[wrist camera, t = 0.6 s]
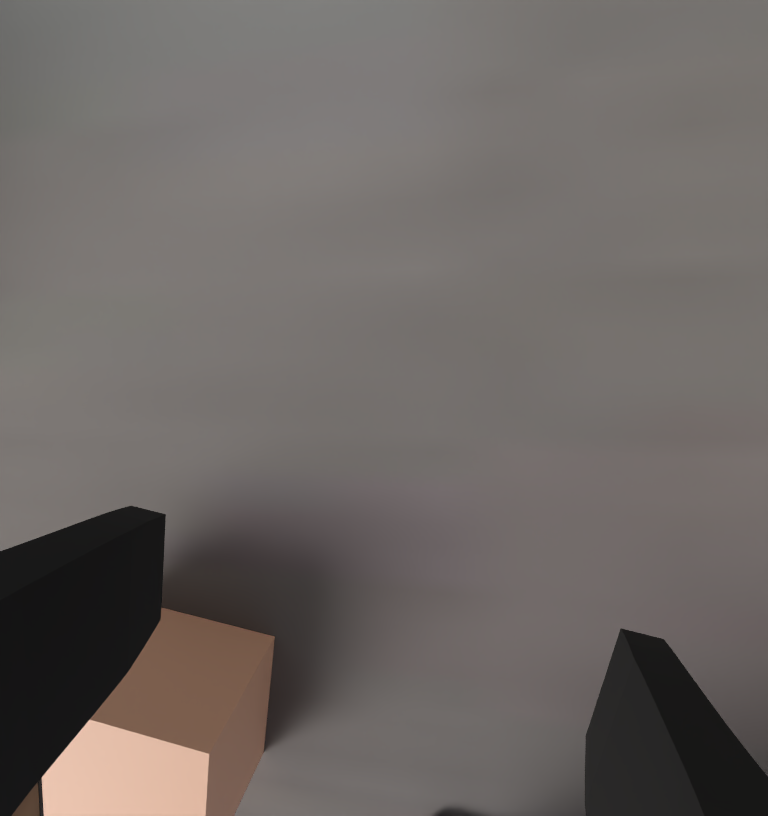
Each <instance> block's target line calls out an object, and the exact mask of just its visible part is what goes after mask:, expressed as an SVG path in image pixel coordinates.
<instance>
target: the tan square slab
mask: <svg viewBox="0 0 768 816" xmlns="http://www.w3.org/2000/svg"><path fill="white" fill-rule="evenodd" d="M12 816H40V812H39V794H38V783H37V784H36V785H35V786H34V787H33V789H32V790H31V791H30V792H29V794H28V795H27V796H26V797H25V799H24V800H23V801H22V803H21V804H20V805H19V807H18V808H17V809H16V811H15V812H14V813H13V814H12Z"/></svg>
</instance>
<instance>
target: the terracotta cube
mask: <svg viewBox="0 0 768 816" xmlns="http://www.w3.org/2000/svg"><path fill="white" fill-rule="evenodd" d="M274 640H275V636H271V635H267V634H263V633H259V632H255V631H251V630H247V629H243V628H240V627H236V626H232V625H228V624H224V623H220V622H216V621H212V620H208V619H205V618H201V617H197V616H193V615H189V614H185V613H181V612H177V611H173V610H169V609H166V608H162V607H161V620H160V622H159V623H158V625H157V627H156V628H155V630H154V632H153V633H152V635H151V637H150V638H149V640H148V642H147V643H146V645H145V647H144V648H143V650H142V651H141V653H140V654H139V656H138V658H137V659H136V661H135V662H134V664H133V665H132V667H131V668H130V670H129V671H128V673H127V674H126V675H125V677H124V678H123V679H122V680H121V682H120V683H119V684H118V686H117V687H116V688H115V689H114V690H113V692H112V693H111V694H110V695H109V697H108V698H107V699H106V700H105V701H104V703H103V704H102V705H101V706H100V708H99V709H98V710H97V711H96V713H95V714H94V715H93V716H92V717H91V719H90V720H89V721H88V722H87V723H86V725H85V726H84V727H83V728H82V729H81V731H80V732H79V733H78V734H77V735H76V737H75V738H74V739H73V740H72V741H71V743H70V744H69V745H68V746H67V748H66V749H65V750H64V751H63V752H62V754H61V755H60V756H59V757H58V758H57V760H56V761H55V762H54V763H53V764H52V766H51V767H50V768H49V769H48V770H47V772H46V773H45V774H44V775H43V776H42V791H43V810H44V816H234V814H235V812H236V810H237V808H238V806H239V804H240V802H241V799H242V797H243V795H244V793H245V791H246V789H247V787H248V784H249V782H250V780H251V778H252V776H253V774H254V772H255V770H256V767H257V765H258V763H259V761H260V759H261V757H262V755H263V753H264V744H265V733H266V723H267V713H268V702H269V692H270V682H271V671H272V661H273V650H274Z"/></svg>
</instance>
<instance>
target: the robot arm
mask: <svg viewBox="0 0 768 816" xmlns="http://www.w3.org/2000/svg"><path fill="white" fill-rule="evenodd" d="M165 516H166V514H162V513H158V512H154V511H150V510H146V509H142V508H138V507H134V506H129V507H125V508H121V509H118V510H115V511H111V512H108V513H105V514H102V515H100V516H97V517H94V518H91V519H88V520H86V521H83V522H80V523H77V524H75V525H72V526H69V527H67V528H64V529H61V530H58V531H56V532H53V533H50V534H47V535H45V536H42V537H39V538H36V539H34V540H31V541H28V542H25V543H23V544H20V545H17V546H14V547H12V548H9V549H6V550H3V551H0V816H12V814H13V813H14V812H15V811H16V809H17V808H18V807H19V805H20V804H21V803H22V801H23V800H24V799H25V797H26V796H27V795H28V794H29V792H30V791H31V790H32V789H33V787H34V786H35V785H36V784H37V783H38V781H39V780H40V779H41V778H42V776H43V775H44V774H45V773H46V772H47V770H48V769H49V768H50V767H51V766H52V764H53V763H54V762H55V761H56V760H57V758H58V757H59V756H60V755H61V754H62V752H63V751H64V750H65V749H66V748H67V746H68V745H69V744H70V743H71V741H72V740H73V739H74V738H75V737H76V735H77V734H78V733H79V732H80V731H81V729H82V728H83V727H84V726H85V725H86V723H87V722H88V721H89V720H90V719H91V717H92V716H93V715H94V714H95V713H96V711H97V710H98V709H99V708H100V706H101V705H102V704H103V703H104V701H105V700H106V699H107V698H108V697H109V695H110V694H111V693H112V692H113V690H114V689H115V688H116V687H117V686H118V684H119V683H120V682H121V680H122V679H123V678H124V677H125V675H126V674H127V673H128V671H129V670H130V668H131V667H132V665H133V664H134V662H135V661H136V659H137V658H138V656H139V654H140V653H141V651H142V650H143V648H144V647H145V645H146V643H147V642H148V640H149V638H150V637H151V635H152V633H153V632H154V630H155V628H156V627H157V625H158V623H159V622H160V620H161V603H162V582H163V560H164V538H165ZM585 809H586V816H768V777H767V775H766V774H765V773H764V772H763V770H762V769H761V768H760V767H759V765H758V764H757V763H756V762H755V761H754V759H753V758H752V757H751V756H750V754H749V753H748V752H747V750H746V749H745V748H744V747H743V745H742V744H741V743H740V741H739V740H738V739H737V738H736V736H735V735H734V734H733V732H732V731H731V730H730V728H729V727H728V726H727V724H726V723H725V722H724V720H723V719H722V718H721V716H720V715H719V714H718V712H717V711H716V710H715V708H714V707H713V706H712V704H711V703H710V702H709V700H708V699H707V697H706V696H705V695H704V693H703V692H702V691H701V689H700V688H699V687H698V685H697V684H696V682H695V681H694V680H693V678H692V677H691V675H690V674H689V673H688V671H687V670H686V669H685V667H684V666H683V664H682V663H681V662H680V660H679V659H678V657H677V656H676V655H675V653H674V652H673V651H672V649H671V648H670V647H669V645H668V644H667V643H666V642H665V640H664V639H661V638H657V637H653V636H649V635H645V634H641V633H637V632H633V631H629V630H625V629H620V633H619V636H618V639H617V642H616V645H615V648H614V651H613V654H612V657H611V660H610V663H609V666H608V669H607V673H606V676H605V679H604V682H603V685H602V688H601V691H600V694H599V697H598V700H597V703H596V706H595V709H594V713H593V716H592V719H591V722H590V725H589V728H588V731H587V734H586V754H585Z"/></svg>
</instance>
